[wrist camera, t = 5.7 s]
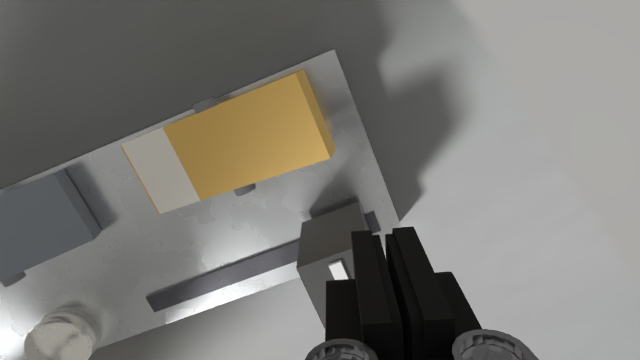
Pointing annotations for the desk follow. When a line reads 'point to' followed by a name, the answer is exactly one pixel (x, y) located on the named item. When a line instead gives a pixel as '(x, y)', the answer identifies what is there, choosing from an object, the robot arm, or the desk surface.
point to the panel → (186, 237)
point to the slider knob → (328, 251)
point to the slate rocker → (41, 224)
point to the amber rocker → (231, 144)
